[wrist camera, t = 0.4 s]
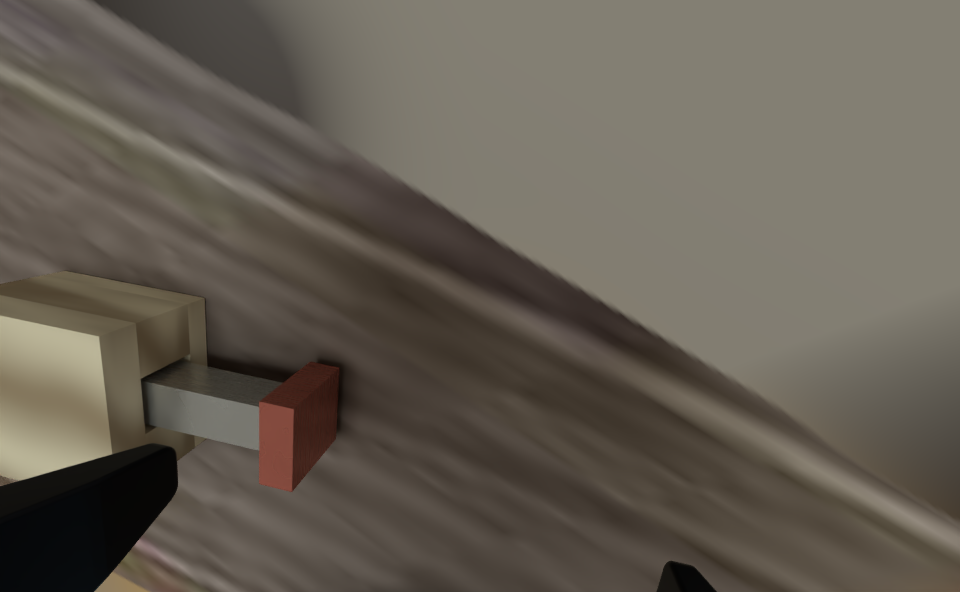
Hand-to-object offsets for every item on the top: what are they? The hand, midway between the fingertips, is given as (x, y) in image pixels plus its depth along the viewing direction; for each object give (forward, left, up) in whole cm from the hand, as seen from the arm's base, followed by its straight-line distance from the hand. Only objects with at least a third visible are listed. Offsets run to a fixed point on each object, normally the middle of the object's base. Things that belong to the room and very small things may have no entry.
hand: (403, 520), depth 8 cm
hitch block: (-6, +18, -13) cm, 23 cm away
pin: (-6, +12, -13) cm, 19 cm away
